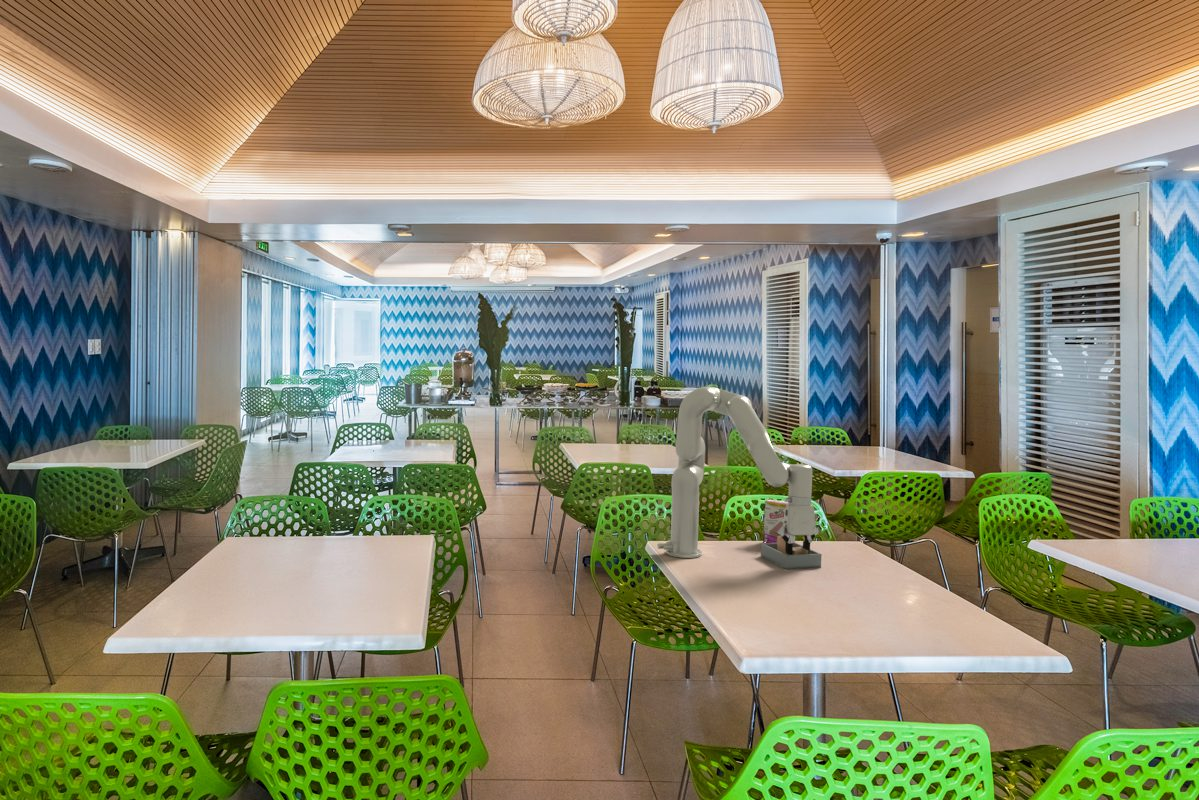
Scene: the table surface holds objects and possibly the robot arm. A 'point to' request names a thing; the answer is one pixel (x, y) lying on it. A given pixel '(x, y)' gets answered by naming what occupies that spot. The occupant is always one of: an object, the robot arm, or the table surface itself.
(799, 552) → the walnut cube
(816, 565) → the grey tote
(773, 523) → the candy bar box
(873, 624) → the table surface
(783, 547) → the terracotta cylinder
